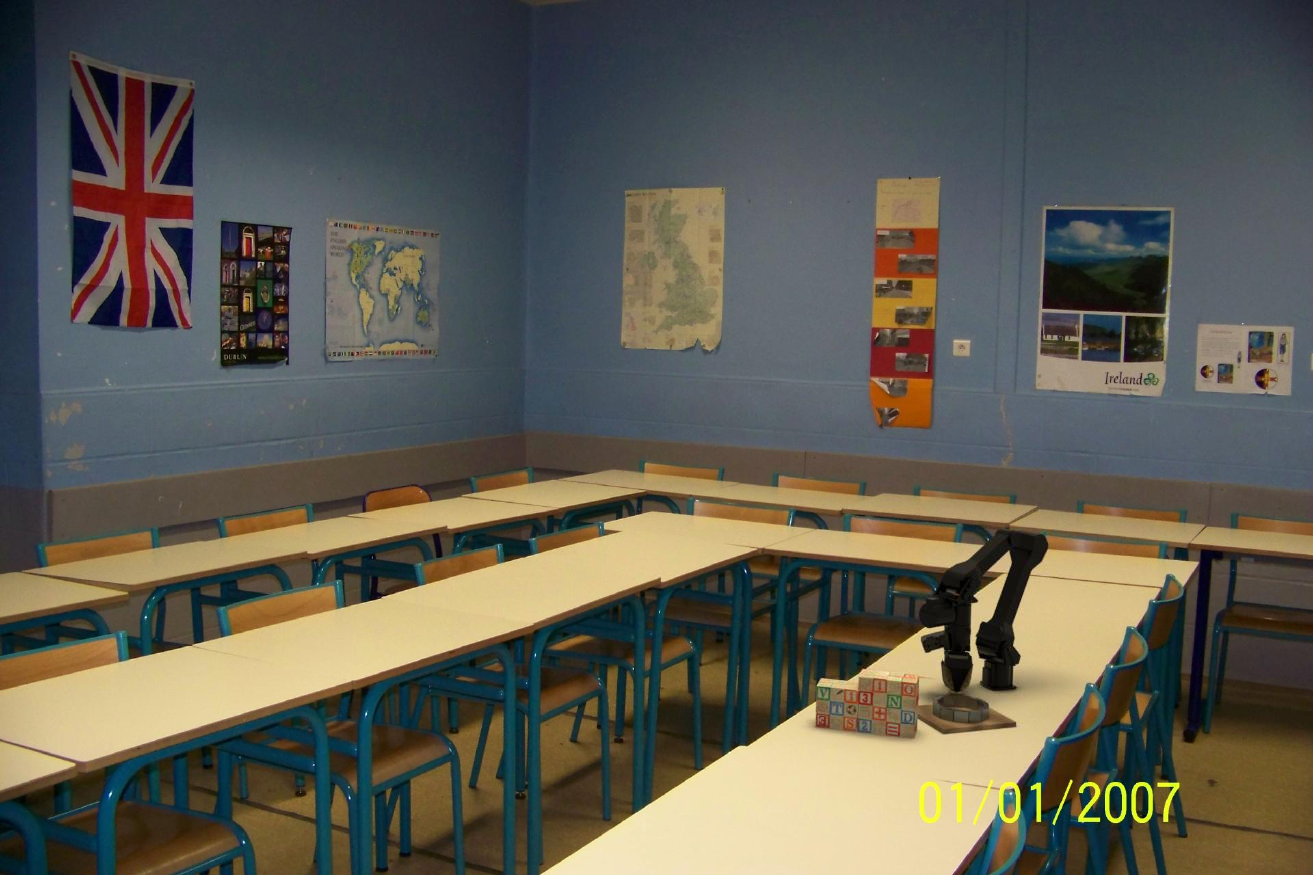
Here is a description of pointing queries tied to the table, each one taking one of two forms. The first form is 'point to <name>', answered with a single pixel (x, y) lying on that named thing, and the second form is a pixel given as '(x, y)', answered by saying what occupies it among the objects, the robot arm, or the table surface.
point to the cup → (949, 683)
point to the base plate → (946, 726)
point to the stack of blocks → (870, 703)
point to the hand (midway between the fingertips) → (956, 687)
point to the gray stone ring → (960, 716)
